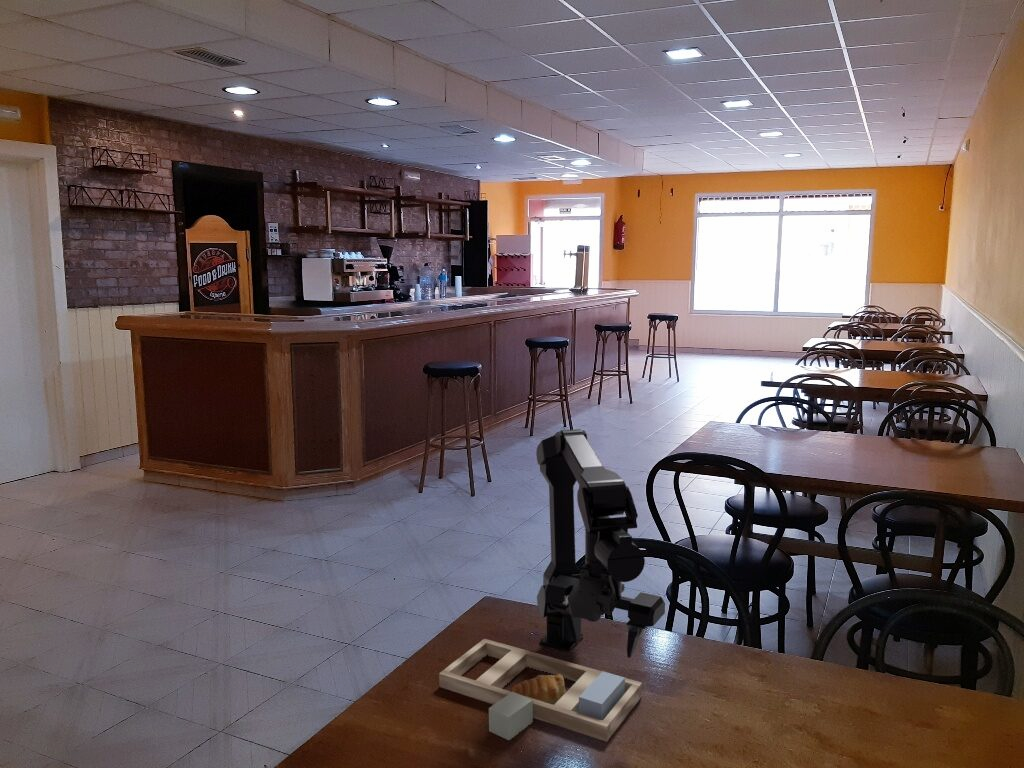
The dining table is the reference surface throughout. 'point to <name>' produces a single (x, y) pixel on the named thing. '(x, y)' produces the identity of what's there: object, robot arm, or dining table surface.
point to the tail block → (510, 715)
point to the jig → (558, 714)
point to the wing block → (602, 695)
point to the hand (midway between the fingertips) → (602, 649)
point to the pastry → (542, 688)
